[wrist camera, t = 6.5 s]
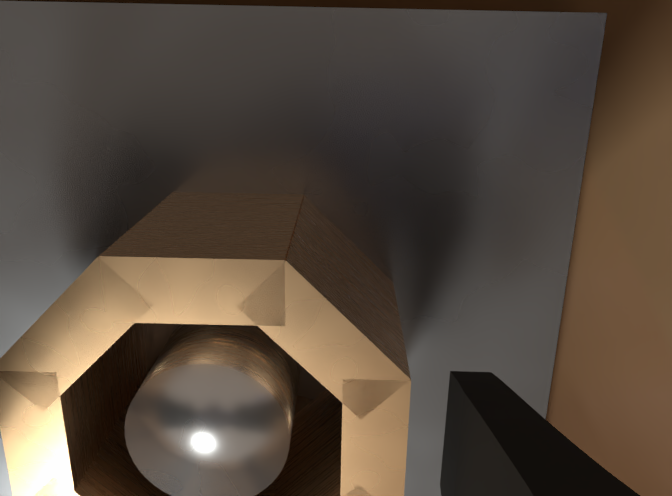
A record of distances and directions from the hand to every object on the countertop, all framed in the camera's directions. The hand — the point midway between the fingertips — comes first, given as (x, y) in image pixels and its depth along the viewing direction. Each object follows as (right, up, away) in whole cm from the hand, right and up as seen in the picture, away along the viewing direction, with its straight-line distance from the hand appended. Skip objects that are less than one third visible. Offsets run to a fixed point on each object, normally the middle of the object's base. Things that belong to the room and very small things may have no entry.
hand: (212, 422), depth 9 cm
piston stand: (0, +1, +4) cm, 4 cm away
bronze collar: (0, +1, +2) cm, 3 cm away
